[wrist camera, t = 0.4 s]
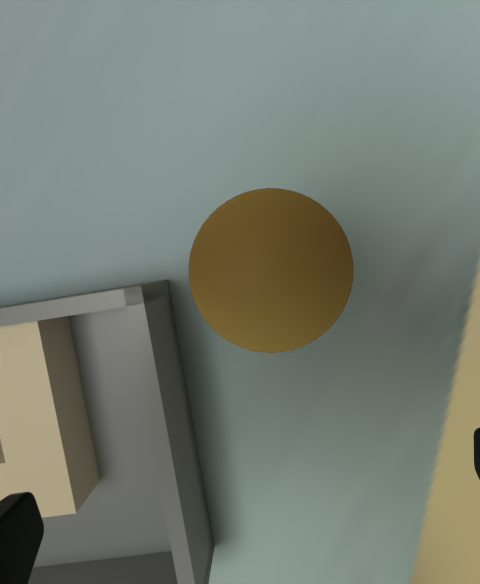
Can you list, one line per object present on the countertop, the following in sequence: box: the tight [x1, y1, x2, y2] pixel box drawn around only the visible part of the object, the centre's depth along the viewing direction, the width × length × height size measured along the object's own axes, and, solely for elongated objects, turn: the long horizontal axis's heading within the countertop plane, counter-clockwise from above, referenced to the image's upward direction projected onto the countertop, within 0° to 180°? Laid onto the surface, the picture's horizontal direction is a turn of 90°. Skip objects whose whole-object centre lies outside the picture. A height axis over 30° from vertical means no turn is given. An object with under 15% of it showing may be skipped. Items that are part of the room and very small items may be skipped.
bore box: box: [0, 280, 214, 584], centre depth 21 cm, size 16×16×5 cm
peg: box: [189, 188, 353, 353], centre depth 16 cm, size 4×4×12 cm
